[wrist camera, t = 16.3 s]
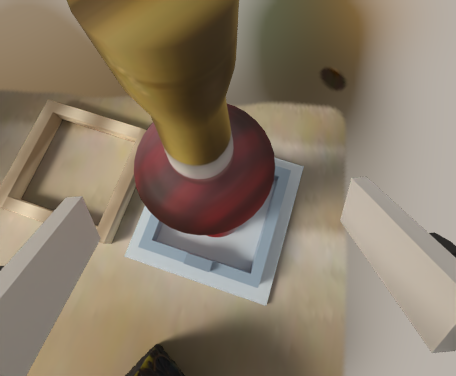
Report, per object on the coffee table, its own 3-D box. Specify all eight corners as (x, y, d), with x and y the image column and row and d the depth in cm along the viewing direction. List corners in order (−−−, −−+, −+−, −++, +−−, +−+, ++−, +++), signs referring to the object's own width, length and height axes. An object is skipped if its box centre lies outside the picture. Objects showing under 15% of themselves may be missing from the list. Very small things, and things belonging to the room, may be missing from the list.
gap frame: (4, 206, 32) (-10, 204, 30) (57, 107, 35) (48, 99, 33) (111, 243, 31) (103, 243, 29) (156, 138, 34) (151, 131, 32)
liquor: (176, 207, 31) (-184, -42, 4) (219, 171, 32) (184, -230, 5) (214, 252, 30) (95, 357, 3) (258, 212, 31) (493, -7, 4)
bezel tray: (126, 256, 30) (113, 257, 27) (177, 129, 34) (172, 117, 31) (265, 304, 29) (270, 312, 26) (302, 167, 33) (310, 159, 30)
